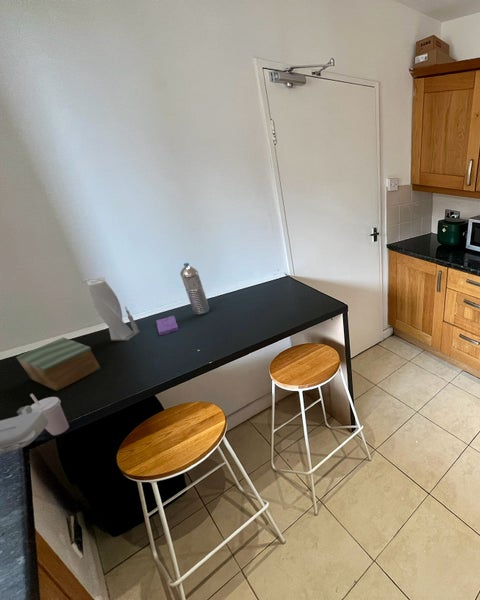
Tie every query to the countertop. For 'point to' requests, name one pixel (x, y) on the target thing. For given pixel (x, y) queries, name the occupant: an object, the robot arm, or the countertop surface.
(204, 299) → the water bottle
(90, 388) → the countertop surface
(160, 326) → the sponge
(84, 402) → the countertop surface
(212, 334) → the countertop surface
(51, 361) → the lid
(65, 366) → the wooden box
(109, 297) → the skyscraper
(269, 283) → the countertop surface
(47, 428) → the smoothie
